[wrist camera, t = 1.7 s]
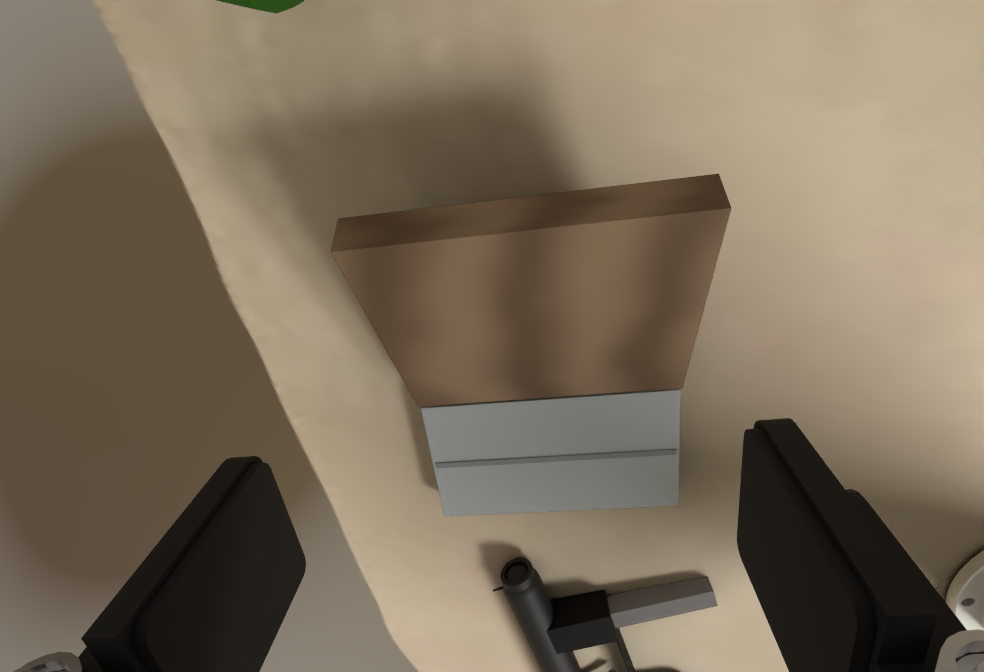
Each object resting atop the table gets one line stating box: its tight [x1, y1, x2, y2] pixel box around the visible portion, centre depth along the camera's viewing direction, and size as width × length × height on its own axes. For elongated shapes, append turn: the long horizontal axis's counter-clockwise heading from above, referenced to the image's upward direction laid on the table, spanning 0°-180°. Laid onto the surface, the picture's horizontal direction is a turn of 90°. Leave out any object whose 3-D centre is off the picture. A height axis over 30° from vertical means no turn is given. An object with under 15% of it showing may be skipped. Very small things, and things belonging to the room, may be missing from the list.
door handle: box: [493, 558, 717, 672], centre depth 44 cm, size 3×20×16 cm
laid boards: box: [421, 388, 680, 516], centre depth 36 cm, size 16×9×2 cm, turn 97°
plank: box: [331, 174, 731, 407], centre depth 28 cm, size 16×14×2 cm
